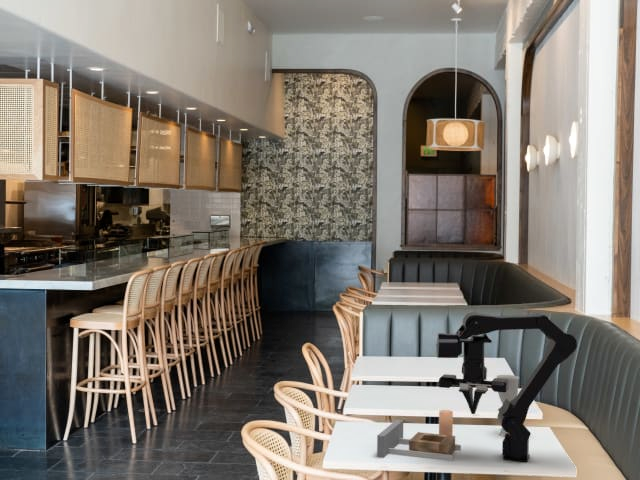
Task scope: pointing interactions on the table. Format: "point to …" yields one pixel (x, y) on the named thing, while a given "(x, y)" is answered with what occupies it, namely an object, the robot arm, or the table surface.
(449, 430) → the dowel
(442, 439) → the socket block
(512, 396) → the chalice
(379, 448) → the backstop
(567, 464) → the table surface
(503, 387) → the robot arm
